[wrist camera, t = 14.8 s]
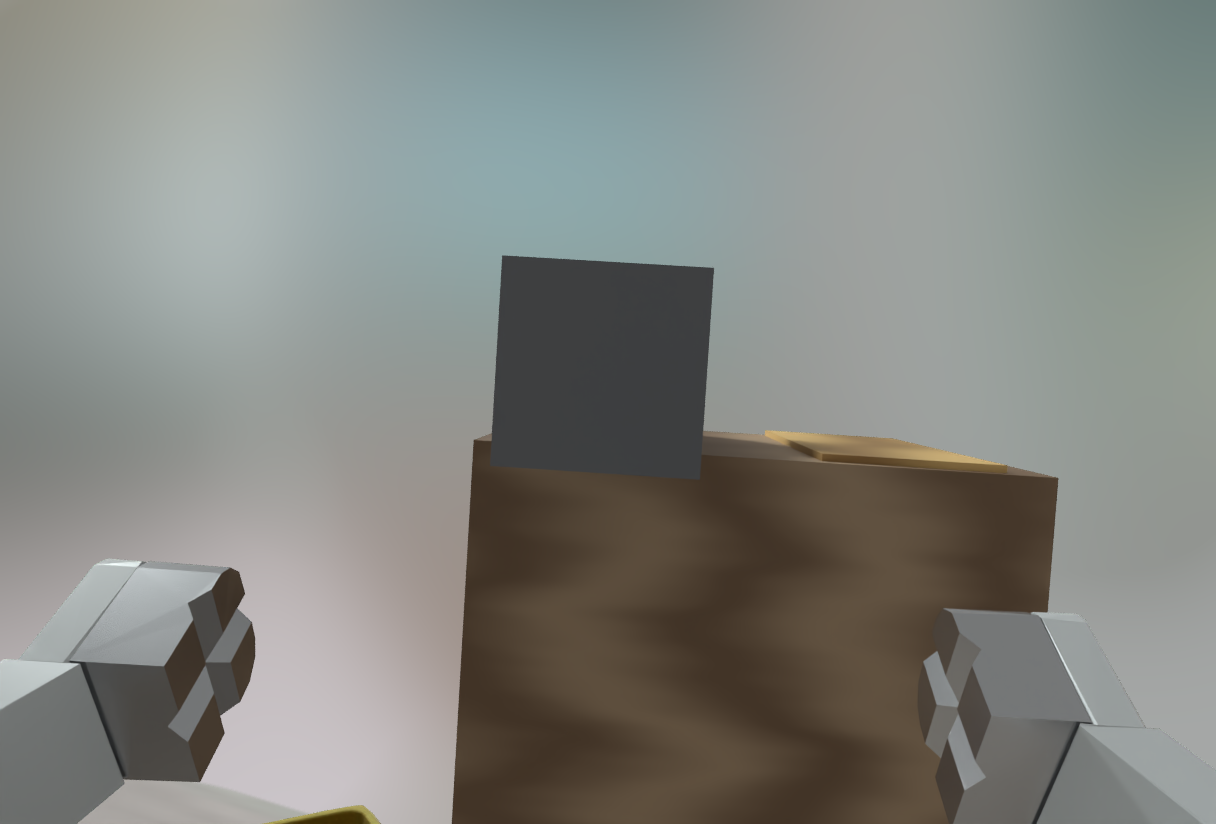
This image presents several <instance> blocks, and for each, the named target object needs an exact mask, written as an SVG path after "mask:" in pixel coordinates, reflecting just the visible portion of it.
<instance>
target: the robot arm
mask: <svg viewBox="0 0 1216 824" xmlns="http://www.w3.org/2000/svg"><path fill="white" fill-rule="evenodd" d="M244 595H245V592H244V588H243V584H242V581H241V578H240V574H239V572H238V571H236V570H234V569H232V568H229V567H216V566H204V565H192V564H179V563H167V562H155V561H148V562H142V561H130V560H118V559H108V558H107V559H105V560H103V561H101V562H99V563H97V564H95V565H94V566H93V567H92V568H91V570H90V571H89V572H88V573H87V574H86V576H85V577H84V578H83V579H82V581H81V582H80V583H79V584H78V586H77V587H76V588H75V589H74V591H73V592H72V593H71V595H70V596H69V597H68V598H67V599H66V601H65V602H64V603H63V604H62V606H61V607H60V608H59V610H58V611H57V612H56V613H55V614H54V616H53V617H52V618H51V619H50V621H49V622H48V623H47V624H46V626H45V627H44V628H43V629H42V631H41V632H40V633H39V634H38V636H37V637H36V638H35V639H34V641H33V642H32V643H31V644H30V646H29V647H28V648H27V649H26V651H25V652H24V653H23V654H22V656H21V657H20V658H19V659H18V660H13V659H4V660H2V661H0V824H77V823H78V822H79V821H81V820H82V819H83V818H84V817H85V816H87V815H88V814H89V813H90V812H91V811H93V810H94V809H95V808H96V807H97V806H99V805H100V804H101V803H102V802H103V801H104V800H106V799H107V798H108V797H109V796H110V795H112V794H113V793H114V792H115V791H116V790H118V789H119V788H120V787H121V786H122V785H124V780H123V779H126V780H154V781H182V782H200V781H201V779H202V777H203V775H204V773H205V771H206V769H207V767H208V765H209V763H210V761H211V759H212V757H213V755H214V753H215V751H216V749H217V747H218V745H219V743H220V741H221V739H222V737H223V735H224V729H223V725H222V722H221V718H220V715H222V714H223V713H225V712H226V711H228V710H229V709H230V708H232V707H233V706H235V705H236V704H238V703H239V702H240V701H241V699H242V697H243V695H244V692H245V690H246V688H247V686H248V684H249V682H250V677H251V673H252V669H253V664H254V660H255V636H254V631H253V626H252V622H251V621H250V620H249V619H248V618H247V617H246V616H245V615H244V614H243V613H241V612H240V611H239V610H238V609H237V607H238V605H239V604H240V602H241V600H242V598H243V596H244ZM932 636H933V639H934V642H935V645H936V648H937V651H936V652H935V653H934V654H932V655H931V656H930V657H928V658H927V659H926V660H924V661H923V665H922V669H921V673H920V677H919V681H918V700H917V707H918V714H919V721H920V727H921V730H922V734H923V738H924V741H925V744H926V745H927V746H928V747H929V748H930V749H931V750H933V751H934V752H935V753H936V754H937V755H938V756H939V757H940V758H941V760H940V763H939V766H938V769H937V773H936V776H935V779H936V782H937V786H938V789H939V792H940V796H941V799H942V802H943V806H944V809H945V812H946V816H947V819H948V822H949V824H1216V770H1215V769H1214V768H1212V767H1211V766H1210V765H1209V764H1207V763H1206V762H1204V761H1203V760H1202V759H1200V758H1199V757H1198V756H1196V755H1195V754H1193V753H1192V752H1191V751H1190V750H1188V749H1187V748H1185V747H1184V746H1183V745H1181V744H1180V743H1179V742H1177V741H1176V740H1175V739H1173V738H1171V737H1170V736H1169V735H1168V734H1166V733H1165V732H1163V731H1162V730H1161V729H1156V728H1146V727H1145V725H1144V723H1143V722H1142V720H1141V718H1140V716H1139V714H1138V712H1137V711H1136V709H1135V707H1134V705H1133V704H1132V702H1131V700H1130V698H1129V697H1128V695H1127V693H1126V691H1125V689H1124V688H1123V686H1122V684H1121V682H1120V680H1119V679H1118V677H1117V675H1116V673H1115V672H1114V670H1113V668H1112V666H1111V665H1110V662H1109V661H1108V659H1107V657H1106V655H1105V654H1104V652H1103V650H1102V648H1101V647H1100V645H1099V643H1098V641H1097V639H1096V637H1095V636H1094V634H1093V632H1092V630H1091V629H1090V627H1089V625H1088V623H1087V622H1086V620H1085V619H1084V618H1082V617H1081V616H1080V615H1078V614H1069V613H1045V612H1032V613H1027V612H1011V611H990V610H970V609H950V608H943V609H942V610H941V611H940V613H939V614H938V616H937V617H936V620H935V623H934V627H933V630H932Z"/></svg>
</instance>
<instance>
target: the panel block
mask: <svg viewBox="0 0 1216 824" xmlns="http://www.w3.org/2000/svg"><path fill="white" fill-rule="evenodd" d="M491 442H492V433H491V434H489V435H486V436H483V437H481V438H478V439H475V440H474V445H473V446H474V447H473V463H472V480H471V498H470V515H469V533H468V550H467V551H468V552H467V569H466V586H465V603H464V620H463V638H462V655H461V672H460V690H459V708H458V726H457V743H456V759H455V777H454V794H453V795H454V796H453V813H452V824H949V822H948V819H947V816H946V812H945V809H944V806H943V802H942V799H941V796H940V792H939V789H938V786H937V782H936V779H935V776H936V773H937V769H938V766H939V763H940V760H941V758H940V757H939V756H938V755H937V754H936V753H935V752H934V751H933V750H931V749H930V748H929V747H928V746H927V745H926V744H925V741H924V738H923V734H922V730H921V727H920V721H919V714H918V707H917V700H918V681H919V677H920V673H921V669H922V665H923V661H924V660H926V659H927V658H928V657H930V656H931V655H932V654H934V653H935V652H936V651H937V648H936V645H935V642H934V639H933V636H932V630H933V627H934V623H935V620H936V617H937V616H938V614H939V613H940V611H941V610H942V609H943V608H950V609H970V610H990V611H1011V612H1027V613H1032V612H1045V613H1047V611H1048V600H1049V587H1050V574H1051V562H1052V550H1053V538H1054V526H1055V512H1056V501H1057V488H1058V478H1056V477H1052V476H1048V475H1044V474H1039V473H1035V472H1031V471H1027V470H1022V469H1018V468H1014V467H1010V466H1007V465H1003V464H999V463H995V462H990V461H986V460H982V459H977V458H973V457H969V456H965V455H960V454H956V453H952V452H947V451H943V450H939V449H935V448H931V447H926V446H922V445H918V444H914V443H909V442H905V441H901V440H897V439H892V438H875V437H861V436H845V435H830V434H814V433H798V432H783V431H767V430H766V431H765V435H758V434H743V433H727V432H711V431H703V440H702V455H701V470H700V480H696V479H681V478H666V477H651V476H636V475H621V474H605V473H590V472H575V471H560V470H545V469H529V468H514V467H499V466H490V459H491Z"/></svg>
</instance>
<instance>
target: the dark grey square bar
mask: <svg viewBox="0 0 1216 824" xmlns="http://www.w3.org/2000/svg"><path fill="white" fill-rule="evenodd" d="M713 274H714V268H705V267H688V266H671V265H654V264H637V263H620V262H603V261H586V260H569V259H552V258H536V257H519V256H502V270H501V288H500V305H499V321H498V322H499V323H498V340H497V356H496V374H495V391H494V408H493V425H492V442H491V459H490V466H499V467H514V468H529V469H545V470H560V471H575V472H590V473H605V474H621V475H636V476H651V477H666V478H681V479H696V480H700V470H701V455H702V440H703V425H704V408H705V394H706V379H707V364H708V350H709V349H708V348H709V335H710V319H711V304H712V289H713Z"/></svg>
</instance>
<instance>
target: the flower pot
mask: <svg viewBox="0 0 1216 824" xmlns="http://www.w3.org/2000/svg"><path fill="white" fill-rule="evenodd" d="M264 824H381V823H380V822H379V821H378V819H377V818H376V817H375V816H374V814H373V813H372V812H370V811H369V810H368V809H367V808H366V807H364V806H362V805H358V806H351V807H344V808H338V809H333V810H327V811H322V812H317V813H313V814H308V815H303V816H298V817H293V818H288V819H283V820H279V821H274V822H269V823H264Z"/></svg>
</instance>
